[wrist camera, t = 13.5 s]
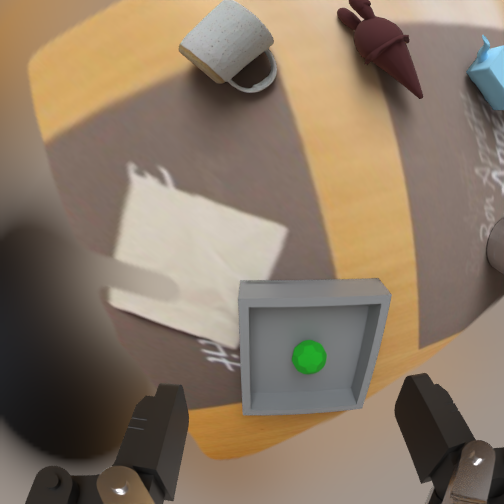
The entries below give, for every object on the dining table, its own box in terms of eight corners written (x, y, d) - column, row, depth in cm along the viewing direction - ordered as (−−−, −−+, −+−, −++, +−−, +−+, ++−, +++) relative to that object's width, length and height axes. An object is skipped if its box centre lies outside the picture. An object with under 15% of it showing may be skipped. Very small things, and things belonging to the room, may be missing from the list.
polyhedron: (283, 353, 44) (286, 374, 40) (301, 329, 43) (305, 349, 38) (312, 363, 45) (316, 384, 41) (329, 340, 44) (336, 360, 39)
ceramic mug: (181, 57, 32) (165, 40, 24) (228, 13, 30) (223, -13, 22) (244, 110, 34) (242, 103, 27) (292, 65, 32) (302, 48, 25)
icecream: (454, 80, 26) (375, -19, 23) (422, 102, 26) (334, -8, 23) (421, 95, 33) (353, 7, 30) (389, 117, 32) (314, 22, 30)
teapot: (447, 54, 30) (478, 44, 23) (464, 34, 28) (493, 24, 21) (494, 117, 32) (526, 118, 25) (508, 95, 31) (539, 94, 24)
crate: (378, 278, 41) (391, 294, 36) (355, 388, 48) (361, 408, 44) (240, 280, 41) (238, 298, 37) (243, 393, 49) (242, 415, 44)
